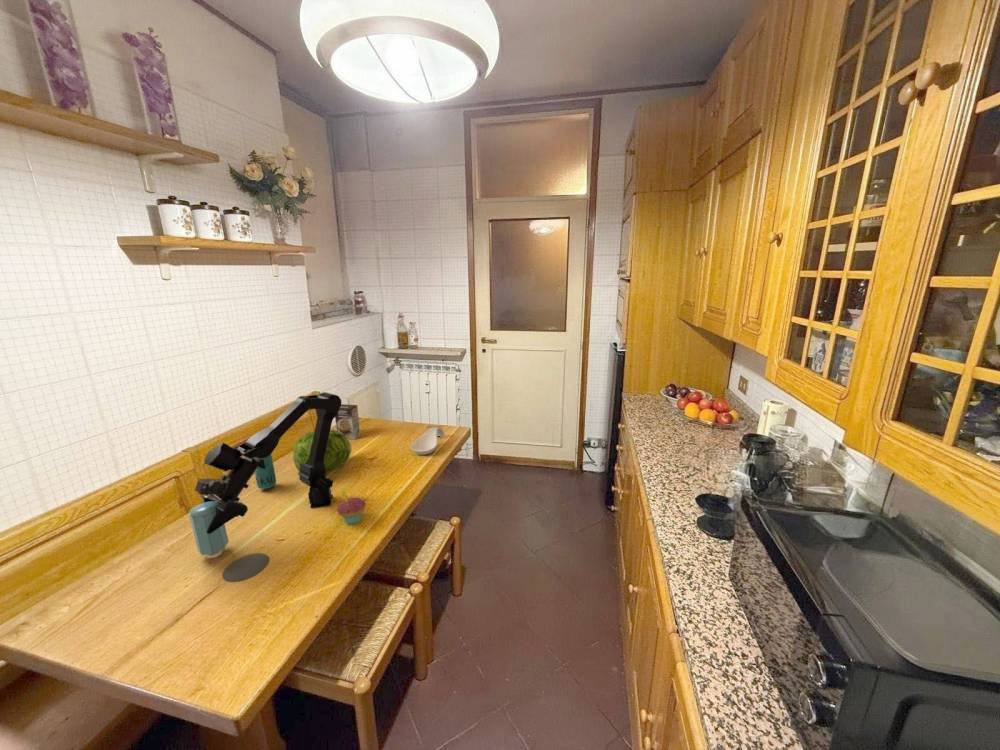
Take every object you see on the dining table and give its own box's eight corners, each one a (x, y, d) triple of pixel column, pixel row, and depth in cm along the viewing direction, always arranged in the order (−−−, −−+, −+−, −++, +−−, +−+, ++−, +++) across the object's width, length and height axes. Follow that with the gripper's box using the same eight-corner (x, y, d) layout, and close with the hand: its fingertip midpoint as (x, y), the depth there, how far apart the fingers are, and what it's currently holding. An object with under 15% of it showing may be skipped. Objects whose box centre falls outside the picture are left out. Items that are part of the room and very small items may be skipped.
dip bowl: (217, 550, 117) (216, 546, 117) (225, 552, 116) (224, 548, 115) (204, 557, 114) (203, 554, 114) (212, 560, 113) (211, 556, 112)
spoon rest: (431, 459, 172) (430, 443, 170) (406, 456, 175) (405, 441, 173) (451, 437, 194) (450, 424, 192) (428, 436, 197) (427, 422, 195)
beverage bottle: (263, 484, 154) (253, 436, 149) (280, 483, 154) (272, 435, 149) (254, 493, 148) (244, 443, 143) (273, 492, 148) (263, 442, 143)
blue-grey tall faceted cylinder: (232, 537, 118) (223, 499, 115) (220, 553, 112) (211, 513, 108) (207, 540, 117) (197, 502, 114) (193, 556, 111) (183, 516, 107)
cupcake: (340, 530, 124) (335, 496, 122) (337, 516, 132) (333, 484, 129) (369, 522, 128) (365, 489, 125) (364, 509, 136) (360, 477, 133)
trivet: (274, 551, 116) (274, 550, 116) (262, 578, 105) (261, 577, 105) (232, 558, 113) (232, 557, 113) (215, 586, 103) (214, 585, 103)
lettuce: (369, 442, 170) (340, 414, 175) (327, 456, 148) (296, 423, 153) (349, 473, 175) (322, 445, 179) (306, 490, 153) (276, 458, 158)
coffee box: (337, 439, 195) (333, 408, 192) (344, 434, 202) (340, 403, 198) (354, 440, 194) (350, 408, 190) (361, 434, 200) (357, 404, 196)
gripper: (199, 458, 117) (162, 510, 111) (226, 475, 106) (186, 533, 100) (234, 472, 125) (201, 520, 119) (262, 489, 114) (227, 543, 109)
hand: (203, 528), depth 112 cm, fingers closed on blue-grey tall faceted cylinder, 7 cm apart
